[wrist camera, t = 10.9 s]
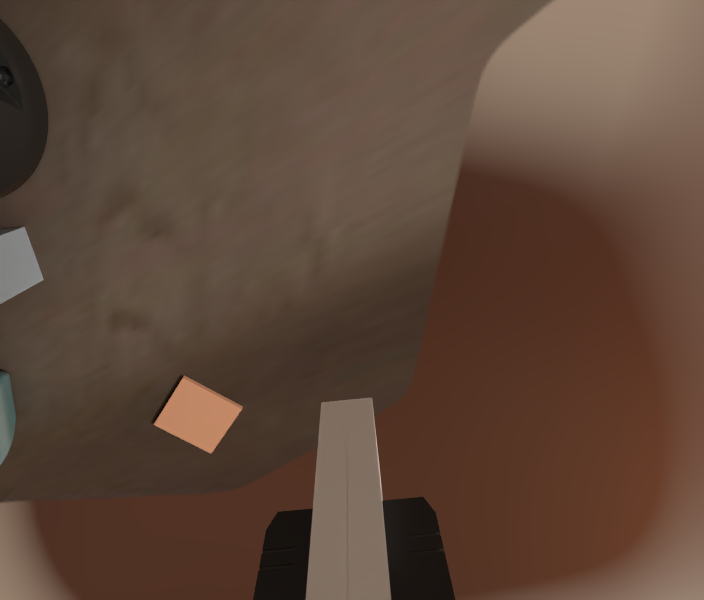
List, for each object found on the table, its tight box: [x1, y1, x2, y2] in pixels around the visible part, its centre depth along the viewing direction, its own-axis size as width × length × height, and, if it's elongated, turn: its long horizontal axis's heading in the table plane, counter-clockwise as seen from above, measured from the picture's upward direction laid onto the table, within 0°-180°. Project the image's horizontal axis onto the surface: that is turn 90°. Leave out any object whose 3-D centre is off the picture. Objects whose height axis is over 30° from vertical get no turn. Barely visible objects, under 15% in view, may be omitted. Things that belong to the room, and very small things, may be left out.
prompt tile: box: [154, 375, 243, 453], centre depth 45 cm, size 6×6×1 cm
